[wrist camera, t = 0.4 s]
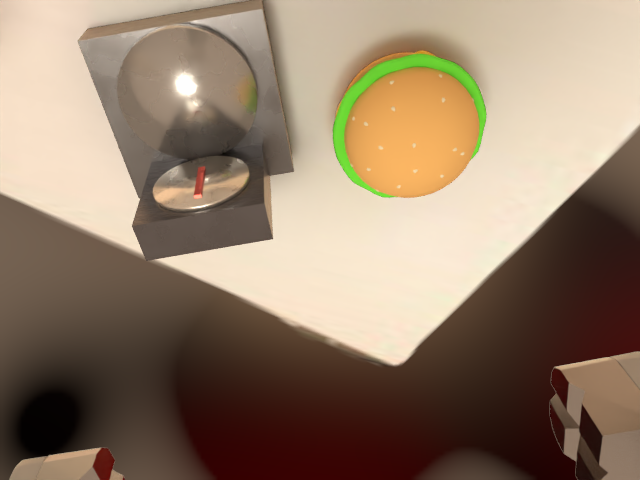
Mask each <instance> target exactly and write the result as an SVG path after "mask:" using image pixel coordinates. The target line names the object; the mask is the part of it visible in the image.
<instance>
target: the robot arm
mask: <svg viewBox="0 0 640 480" xmlns="http://www.w3.org/2000/svg"><path fill="white" fill-rule="evenodd" d="M551 384H552V386H553V388H554V389H555V391H556V395H555V396H554V397H553V398H552V399H551V400H550V418H551V423H552V428H553V431H554V434H555V436H556V439H557V442H558V443H559V445H560V447H561V449H562V451H563V453H564V454H565V455H567V456H568V457H570V458H572V459H573V460H575V461H576V474H575V475H576V477H577V479H578V480H640V352H633V353H628V354H623V355H618V356H612V357H609V358H608V357H605V358H600V359H595V360H590V361H584V362H579V363H574V364H568V365H563V366H558V367H554V369H553V371H552V373H551ZM114 462H115V459H114V457H113V456H112V454H111V452H110V450H109V449H108V448H96V449H89V450H83V451H76V452H69V453H63V454H56V455H50V456H46V457H40V458H33V459H26V460H22V461H21V462H20V463H19V464H18V465H17V466H16V467H15V469H14V471H13V473H12V475H11V477H10V479H9V480H125V478H124V476H123V475H121V474H119V473H117V472H115V471H113V470H112V469H113V465H114Z"/></svg>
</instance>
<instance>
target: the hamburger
mask: <svg viewBox="0 0 640 480" xmlns="http://www.w3.org/2000/svg"><path fill="white" fill-rule="evenodd" d="M485 122H486V109H485V105H484V101H483V98H482V95H481V92H480V90H479V88H478V86H477V84H476V82H475V81H474V79H473V78H472V77H471V76H470V75H469V74H468V73H467V72H466V71H465V70H464V69H463V68H461V67H460V66H459V65H457V64H455V63H454V62H451V61H449V60H446V59H442V58H439V57H437V56H435V55H434V54H432V53H430V52H428V51H424V50H419V51H417V52H416V53H411V52H402V53H396V54H390V55H388V56H385V57H382V58H379V59H378V60H376V61H374V62H372V63H370V64H369V65H368V66H366V67H365V68H364V69H363V70H361V71H360V72H359V73H358V74H357V76H356V77H355V78H354V79H353V80H352V82H351V83H350V85H349V86H348V88H347V90H346V92H345V94H344V97H343V99H342V101H341V102H340V103H339V105H338V107H337V110H336V115H335V122H334V126H333V143H334V149H335V153H336V156H337V159H338V161H339V163H340V165H341V166H342V168H343V170H344V171H345V173H346V174H347V176H348V177H349V178H350V179H351V180H352V181H353V182H354V183H355V184H357V185H359V186H361V187H363V188H365V189H367V190H369V191H371V192H372V193H374V194H376V195H379V196H381V197H403V198H410V197H420V196H425V195H428V194H431V193H434V192H436V191H438V190H440V189H442V188H444V187H445V186H447V185H448V184H450V183H452V181H453V180H455V179H456V178H457V177H458V176H459V175H460V174H461V173H462V171H463V170H464V169H465V168H466V166H467V164H468V163H469V161H470V160H471V159H472V158H473V157H474V156H475V155H476V153H477V152H478V150H479V147H480V144H481V139H482V135H483V130H484V126H485Z"/></svg>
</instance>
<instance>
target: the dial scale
mask: <svg viewBox="0 0 640 480" xmlns="http://www.w3.org/2000/svg"><path fill="white" fill-rule="evenodd" d="M78 44H79V46H80V49H81V51H82V54H83V56H84V59H85V61H86V64H87V67H88V69H89V72H90V74H91V77H92V79H93V82H94V85H95V87H96V90H97V92H98V95H99V97H100V100H101V103H102V105H103V108H104V110H105V113H106V115H107V118H108V120H109V123H110V126H111V128H112V131H113V133H114V136H115V138H116V141H117V144H118V146H119V149H120V151H121V154H122V156H123V159H124V162H125V164H126V167H127V169H128V172H129V174H130V177H131V179H132V182H133V185H134V187H135V190H136V192H137V195H138V197H139V198H140V201H139V205H138V208H137V211H136V214H135V218H134V221H133V224H132V227H133V230H134V232H135V235H136V237H137V239H138V242H139V244H140V247H141V249H142V252H143V254H144V256H145V259H146V261H148V260H154V259H159V258H165V257H171V256H177V255H183V254H188V253H194V252H200V251H206V250H212V249H218V248H223V247H229V246H235V245H241V244H247V243H252V242H258V241H264V240H270V239H273V229H272V209H271V188H270V176H271V175H277V174H283V173H288V172H294V169H293V161H292V153H291V148H290V143H289V138H288V132H287V127H286V122H285V117H284V112H283V106H282V101H281V96H280V91H279V86H278V80H277V75H276V70H275V65H274V60H273V54H272V49H271V44H270V39H269V34H268V28H267V23H266V18H265V13H264V8H263V2H262V0H249V1H244V2H238V3H232V4H227V5H221V6H215V7H209V8H204V9H198V10H192V11H187V12H181V13H175V14H169V15H164V16H158V17H152V18H147V19H141V20H135V21H129V22H124V23H118V24H112V25H106V26H101V27H95V28H89V29H87V30H86V31H85V33H84V34H83V35H82V36H81V37H80V39H79V40H78Z"/></svg>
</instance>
